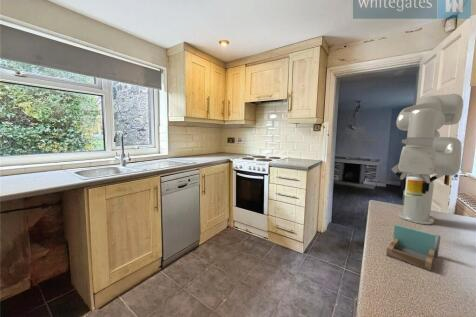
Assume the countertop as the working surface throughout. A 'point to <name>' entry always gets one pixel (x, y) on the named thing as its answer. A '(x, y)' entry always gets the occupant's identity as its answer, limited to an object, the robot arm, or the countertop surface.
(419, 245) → the gate
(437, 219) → the countertop surface
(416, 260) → the bay
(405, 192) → the supplement bottle
